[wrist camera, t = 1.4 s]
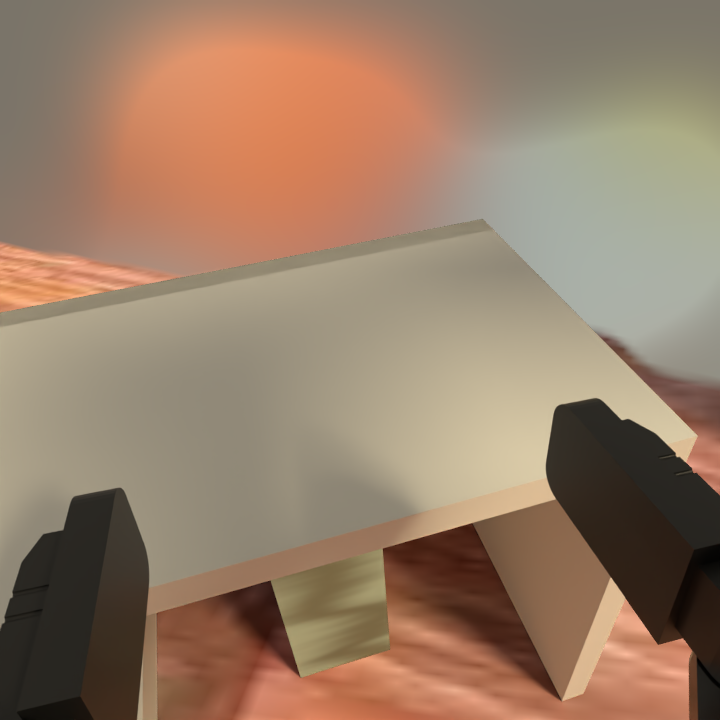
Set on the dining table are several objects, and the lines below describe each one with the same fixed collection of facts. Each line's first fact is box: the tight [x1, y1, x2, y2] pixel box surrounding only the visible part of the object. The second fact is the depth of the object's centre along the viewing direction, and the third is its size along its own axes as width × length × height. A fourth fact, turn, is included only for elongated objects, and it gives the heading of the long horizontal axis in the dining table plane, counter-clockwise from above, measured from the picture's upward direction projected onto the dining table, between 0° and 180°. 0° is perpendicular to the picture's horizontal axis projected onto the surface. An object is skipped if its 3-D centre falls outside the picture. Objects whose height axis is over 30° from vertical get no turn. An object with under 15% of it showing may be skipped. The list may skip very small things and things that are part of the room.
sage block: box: [271, 549, 390, 677], centre depth 30 cm, size 5×5×12 cm
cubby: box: [0, 219, 697, 720], centre depth 28 cm, size 22×15×19 cm
